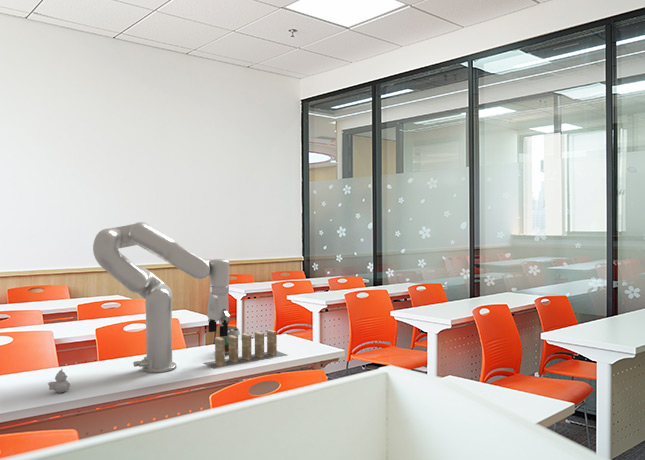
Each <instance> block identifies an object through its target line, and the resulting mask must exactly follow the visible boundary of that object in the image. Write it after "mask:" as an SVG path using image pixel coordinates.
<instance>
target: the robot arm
mask: <svg viewBox="0 0 645 460" xmlns="http://www.w3.org/2000/svg"><path fill="white" fill-rule="evenodd" d="M134 246H139V247H140V248H141V249H143V250H146V251H147V252H149V253H151V254H152V255H154V256H156V257H158V258H160V259H161V260H162V261H164V262H166V263H168V264H170V265H172V266H174V267H175V268H177V269H178V270H180V271H181V272H183V273H186V274H187V275H188V276H190V277H192V278H194V279H197V280H204V279H205V278H207V277H209V286H208V287H209V290H208V291H209V292H208V293H209V294H208V301H207V308H206V309H207V311H206V316H207V318H208V319H207V322H208V330H207V331H208V333H215V332H217V322H219V324H220V326H219V337H220V338H223V336H227V335H228V327H229V324H230V319H231V315H230V313H229V312H230V311H229V310H230V309H229V293H230V290H229V289H230V285H229V284H230V261H229V260H228V259H224V258H215V259H214V258H213V259H210V258H209V259H208V258H203V257H199V256H197V255H196V254H194V253H192V252H190V251H188V250H187V249H186V248H184V247H183V246H181V245H180V243H178V242H177V241H176V240H174V239H173V238H171V237H170V236H167V235H166V234H164V233H163V232H160V231H159V230H157V229H156V228H155V227H152V226H151V225H149V224H148V223H146V222H143V221H140V222H135V223H132V224H127V225H126V224H125V225H120V226H116V227H110V228H104V229H102V230H100V231H99V232H98V233H97V234H96V235H95V238H94V239H93V244H92V251H93V256H94V258H95V260H96V262H97V263H98V265H99V266H100V267H101V268H102V269H103V270H104V271H106V272H107V274H109V275H110V276H112V277H113V278H114V279H115V280H116V281H117V282H118V283H120V284H121V285H122V286H123V287H125V288H126V289H127V290H128V291H129V292H130V293H135V294H138V295H139V296H141V297H142V298H143V299H144V300H145V301H144V303H145V304H144V305H145V306H144V307H145V331H146V332H145V333H146V334H145V336H146V338H145V339H146V342H145V343H146V345H145V347H146V356H144V357H143V359H141V360H137V361H133V363H132V364H133V367H139V368H142V371H143V372H146V373H156V374H157V373H165V372H170V371H172V370H175V369H176V368H177V363H176V362H174V361H173V315H172V314H173V313H172V312H173V311H172V310H173V291H172V289H171V288H170V287H169V285H167V284H166V283H165V282H164V281H162V280H161V279H160V278H159V277H157V275H155V274H154V273H153V272H151V271H150V270H149V269H147V268H145V267H143V266H139V265H136V264H135V263H133V262H132V261H131V260H130V259H129V258H128V257H127V256H125V255H123V254H122V253H121V251H120V250H119V249H123V248H128V247H134Z"/></svg>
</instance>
